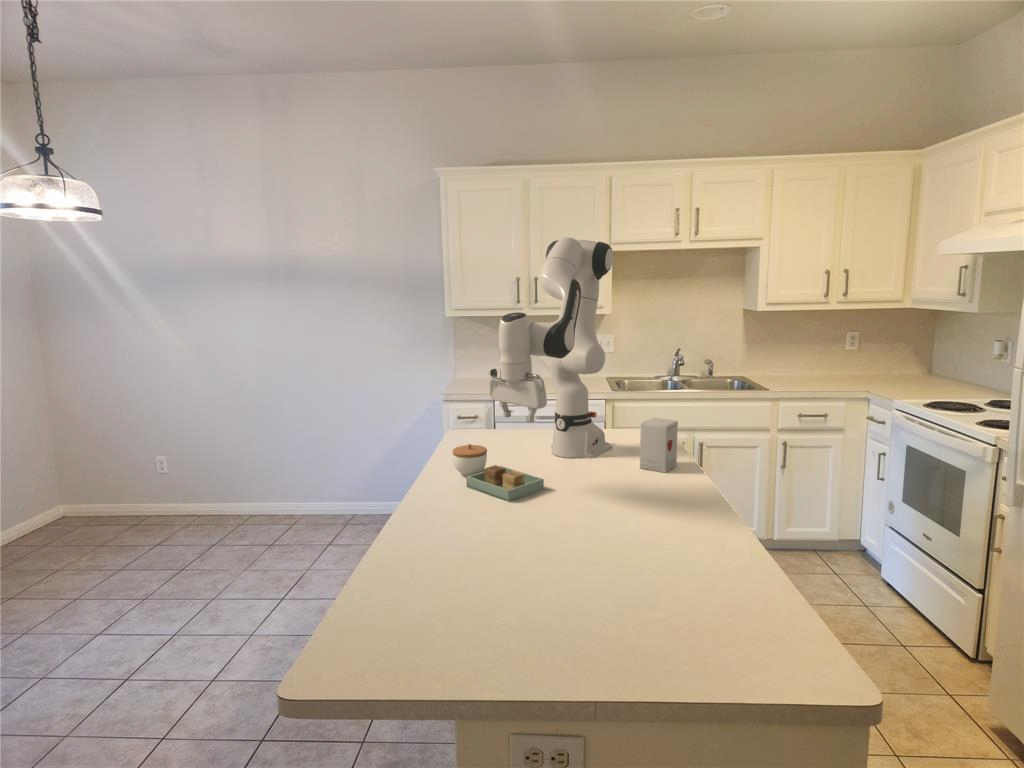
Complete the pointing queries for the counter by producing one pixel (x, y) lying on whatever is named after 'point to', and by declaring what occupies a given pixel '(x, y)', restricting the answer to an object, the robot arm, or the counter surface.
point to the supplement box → (658, 444)
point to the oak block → (513, 480)
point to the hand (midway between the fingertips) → (518, 419)
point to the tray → (499, 492)
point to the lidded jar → (469, 459)
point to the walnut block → (494, 475)
